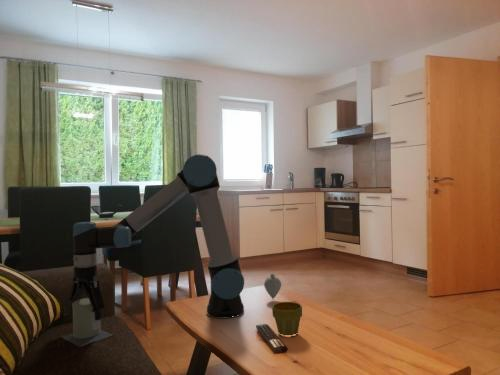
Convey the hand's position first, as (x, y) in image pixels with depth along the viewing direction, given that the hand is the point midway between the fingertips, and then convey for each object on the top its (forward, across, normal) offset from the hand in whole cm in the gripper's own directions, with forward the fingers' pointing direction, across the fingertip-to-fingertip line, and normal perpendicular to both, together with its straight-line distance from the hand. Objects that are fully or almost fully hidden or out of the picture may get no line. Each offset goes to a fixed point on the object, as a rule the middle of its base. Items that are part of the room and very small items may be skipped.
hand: (86, 324), depth 134 cm
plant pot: (+4, +58, +42) cm, 72 cm away
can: (+3, 0, 0) cm, 3 cm away
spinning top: (+4, +32, +70) cm, 77 cm away
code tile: (+3, +2, -1) cm, 4 cm away
